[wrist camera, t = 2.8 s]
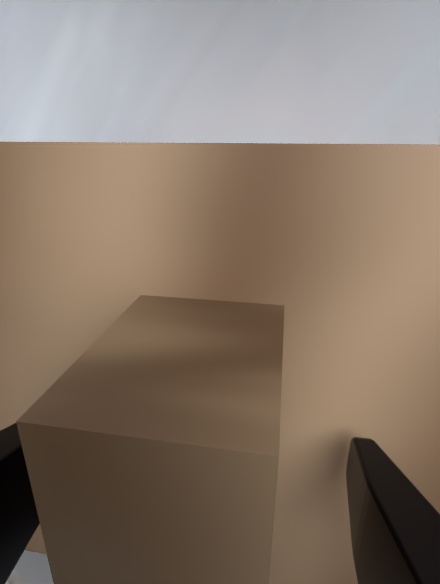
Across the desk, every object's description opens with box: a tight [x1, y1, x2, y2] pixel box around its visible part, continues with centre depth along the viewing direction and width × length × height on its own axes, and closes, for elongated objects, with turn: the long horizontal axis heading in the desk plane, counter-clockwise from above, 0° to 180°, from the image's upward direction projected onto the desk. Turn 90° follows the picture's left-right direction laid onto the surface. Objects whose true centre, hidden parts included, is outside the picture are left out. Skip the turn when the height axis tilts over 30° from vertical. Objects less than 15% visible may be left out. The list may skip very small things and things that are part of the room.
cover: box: [0, 142, 440, 584], centre depth 7 cm, size 12×12×5 cm
